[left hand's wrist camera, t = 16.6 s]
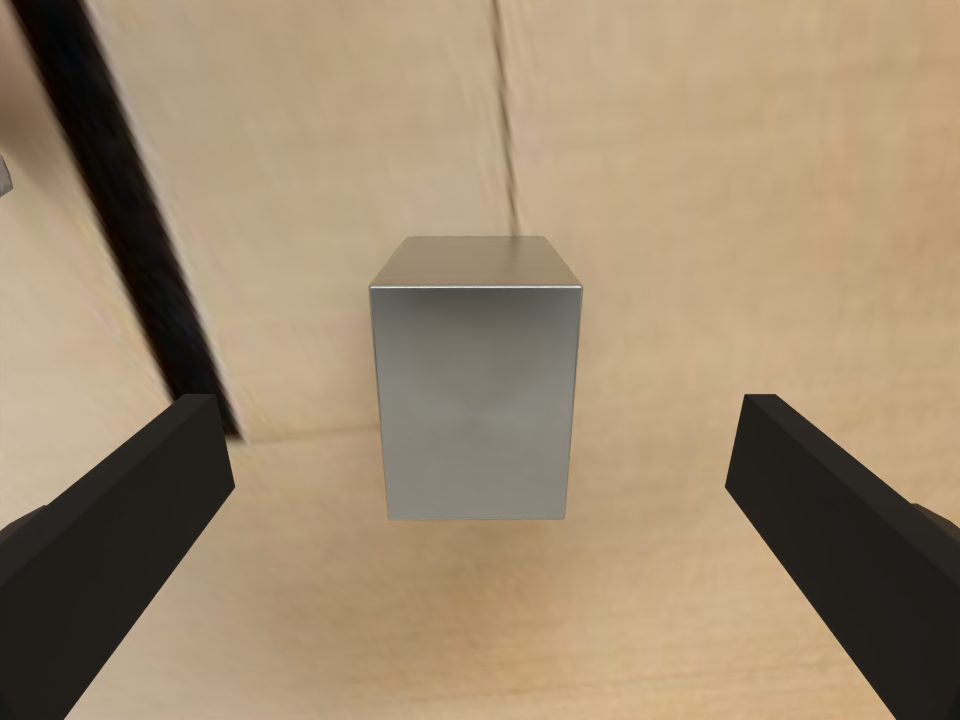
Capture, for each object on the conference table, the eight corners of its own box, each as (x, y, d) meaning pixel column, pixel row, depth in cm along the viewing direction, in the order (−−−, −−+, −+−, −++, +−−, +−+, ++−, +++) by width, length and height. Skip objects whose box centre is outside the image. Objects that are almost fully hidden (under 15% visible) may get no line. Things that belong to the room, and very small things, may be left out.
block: (537, 404, 22) (565, 520, 15) (415, 404, 22) (387, 521, 15) (545, 236, 19) (584, 284, 13) (406, 236, 19) (367, 285, 12)
